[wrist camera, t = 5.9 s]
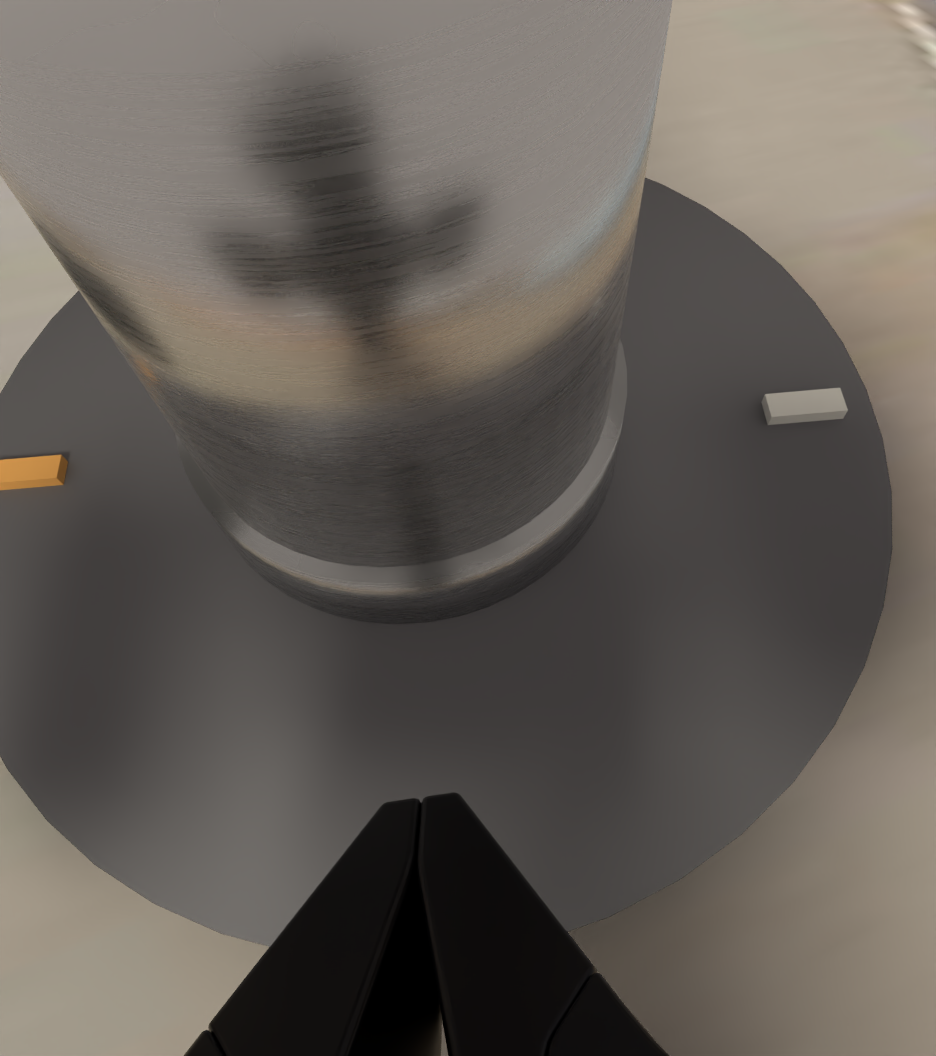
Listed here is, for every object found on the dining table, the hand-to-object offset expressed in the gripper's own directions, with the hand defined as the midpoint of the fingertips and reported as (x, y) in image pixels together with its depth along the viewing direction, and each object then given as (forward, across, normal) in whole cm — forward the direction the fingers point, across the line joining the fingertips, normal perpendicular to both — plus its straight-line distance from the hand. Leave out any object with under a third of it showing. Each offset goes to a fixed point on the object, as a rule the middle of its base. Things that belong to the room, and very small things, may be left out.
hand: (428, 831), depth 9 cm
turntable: (+10, 0, -2) cm, 11 cm away
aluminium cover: (+10, 0, -3) cm, 10 cm away
